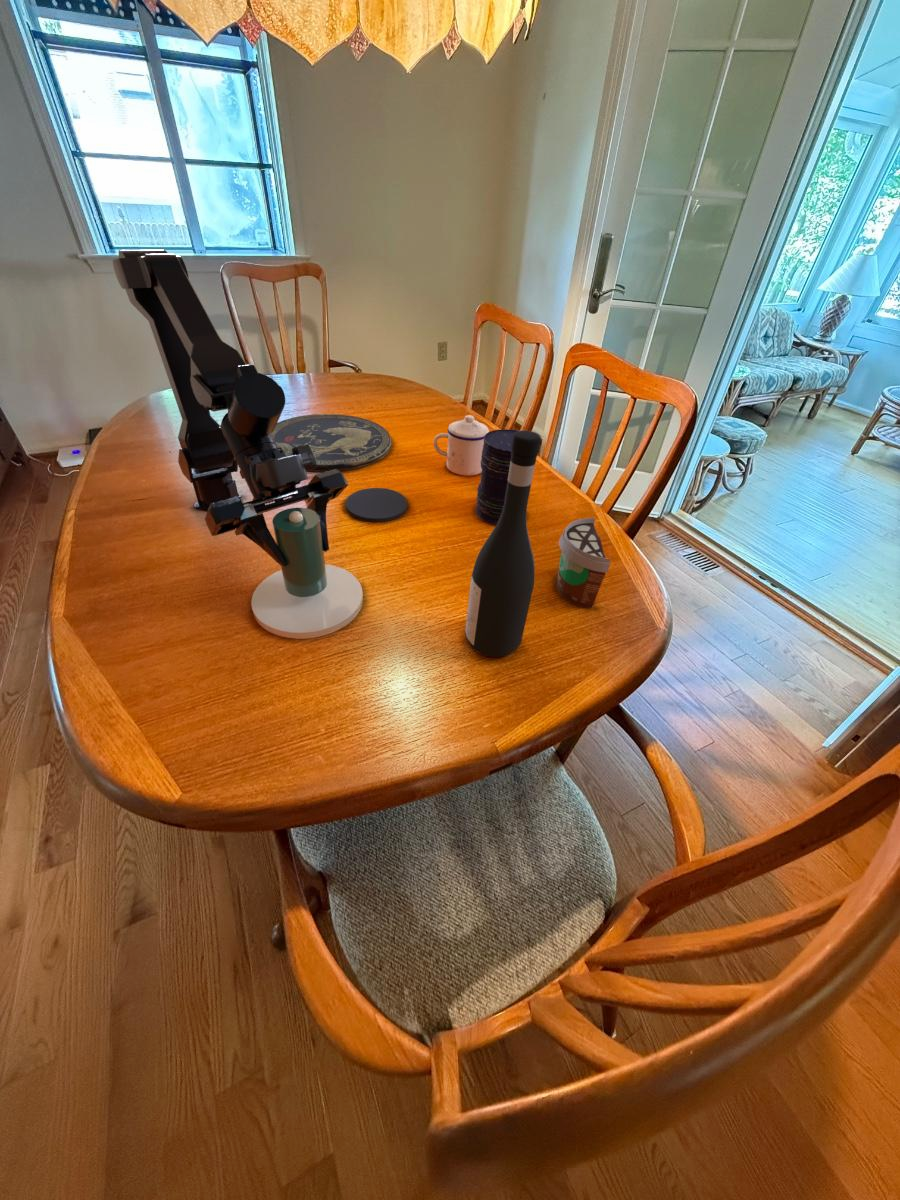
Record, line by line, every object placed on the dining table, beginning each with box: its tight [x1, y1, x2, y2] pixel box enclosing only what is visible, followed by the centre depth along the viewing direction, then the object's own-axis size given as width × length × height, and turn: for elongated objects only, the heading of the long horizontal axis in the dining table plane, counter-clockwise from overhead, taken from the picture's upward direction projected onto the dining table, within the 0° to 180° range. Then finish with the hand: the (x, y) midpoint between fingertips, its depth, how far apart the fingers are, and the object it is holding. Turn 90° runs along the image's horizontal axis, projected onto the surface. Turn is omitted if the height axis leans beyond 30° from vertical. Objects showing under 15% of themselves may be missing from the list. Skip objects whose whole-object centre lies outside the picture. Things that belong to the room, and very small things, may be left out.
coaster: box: [344, 487, 409, 523], centre depth 97 cm, size 12×12×1 cm
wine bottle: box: [464, 429, 542, 658], centre depth 61 cm, size 8×8×30 cm
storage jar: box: [475, 428, 518, 526], centre depth 93 cm, size 10×10×15 cm
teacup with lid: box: [433, 414, 490, 477], centre depth 109 cm, size 12×9×12 cm
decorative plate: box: [271, 413, 392, 472], centre depth 117 cm, size 30×2×30 cm
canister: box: [271, 507, 327, 597], centre depth 68 cm, size 6×6×12 cm
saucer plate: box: [250, 563, 364, 640], centre depth 74 cm, size 16×16×1 cm
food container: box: [555, 517, 612, 609], centre depth 78 cm, size 12×6×10 cm, turn 178°
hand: (306, 558), depth 68 cm, fingers closed on canister, 6 cm apart
